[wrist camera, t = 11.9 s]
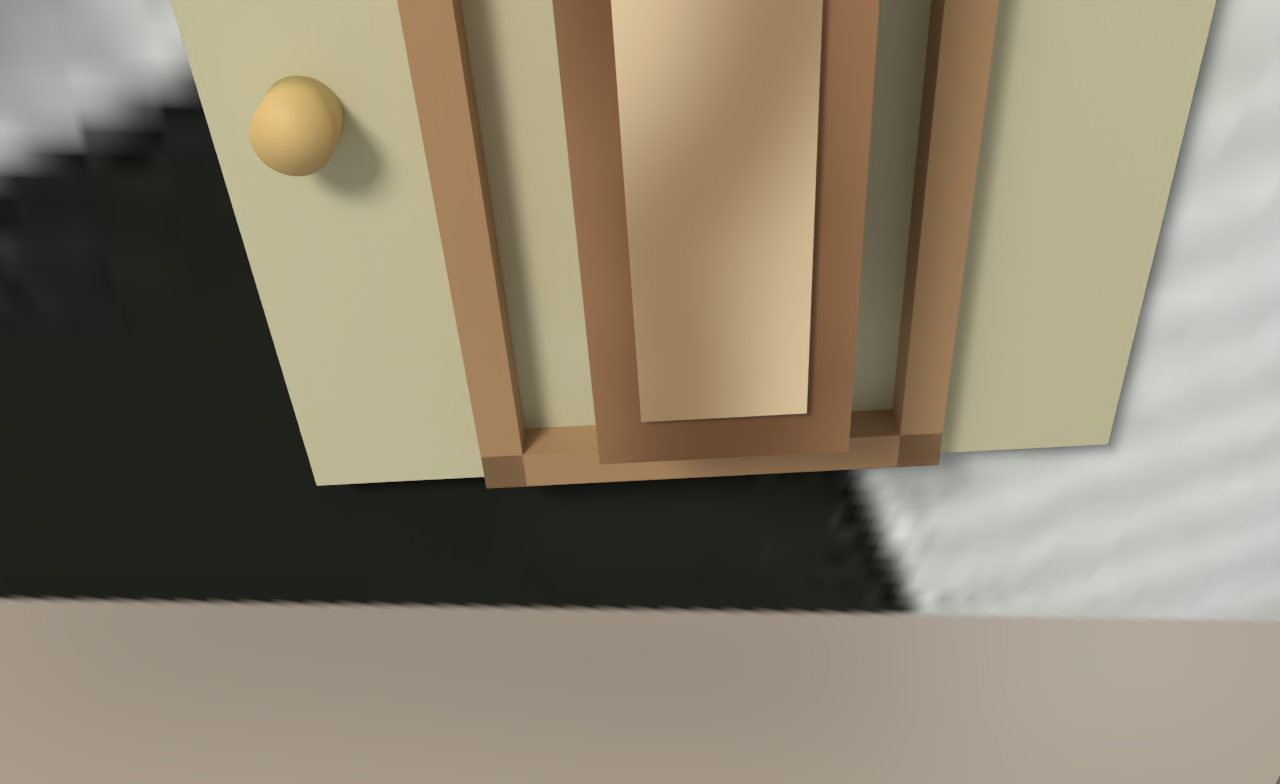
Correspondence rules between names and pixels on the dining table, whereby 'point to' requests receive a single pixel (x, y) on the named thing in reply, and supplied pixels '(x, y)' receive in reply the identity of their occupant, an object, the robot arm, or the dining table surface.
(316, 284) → the mount board
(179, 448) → the dining table surface
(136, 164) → the dining table surface
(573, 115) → the wooden block
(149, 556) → the dining table surface
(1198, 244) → the dining table surface
